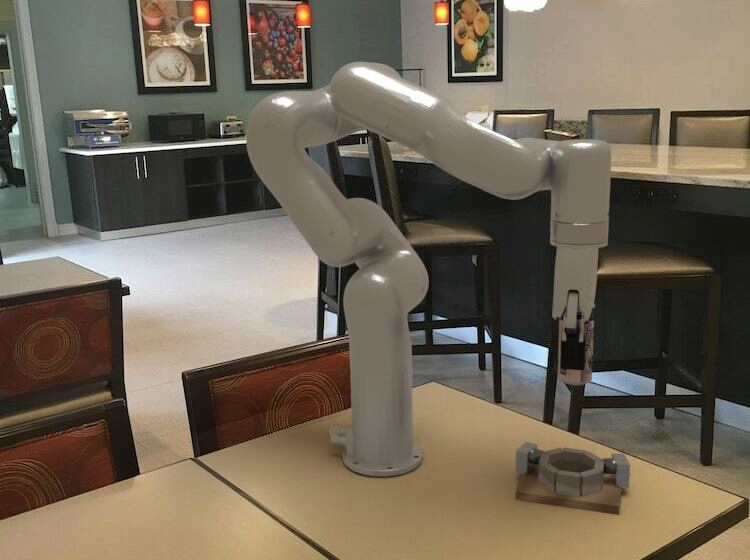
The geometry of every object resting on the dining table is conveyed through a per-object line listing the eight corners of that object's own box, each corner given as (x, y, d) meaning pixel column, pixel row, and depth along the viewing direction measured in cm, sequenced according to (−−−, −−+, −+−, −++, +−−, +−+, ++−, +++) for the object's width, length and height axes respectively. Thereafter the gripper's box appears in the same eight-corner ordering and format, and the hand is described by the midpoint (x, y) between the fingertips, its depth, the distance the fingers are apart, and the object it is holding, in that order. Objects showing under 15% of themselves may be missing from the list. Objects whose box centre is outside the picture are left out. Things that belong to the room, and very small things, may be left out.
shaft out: (605, 487, 112) (607, 464, 112) (600, 475, 116) (601, 453, 115) (628, 487, 112) (630, 464, 111) (622, 475, 116) (624, 453, 115)
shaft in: (545, 468, 118) (546, 446, 118) (535, 477, 116) (536, 455, 115) (525, 462, 120) (525, 441, 119) (515, 472, 117) (516, 450, 116)
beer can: (593, 387, 108) (596, 302, 105) (557, 385, 109) (559, 301, 106) (591, 375, 113) (594, 293, 110) (556, 374, 114) (559, 292, 111)
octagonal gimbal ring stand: (515, 499, 112) (516, 472, 111) (527, 465, 122) (528, 440, 121) (619, 514, 107) (620, 486, 106) (622, 477, 118) (623, 451, 117)
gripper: (558, 222, 115) (554, 342, 119) (541, 243, 100) (538, 380, 104) (611, 224, 113) (606, 346, 117) (603, 245, 97) (597, 386, 101)
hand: (574, 361), depth 110 cm, fingers closed on beer can, 4 cm apart
